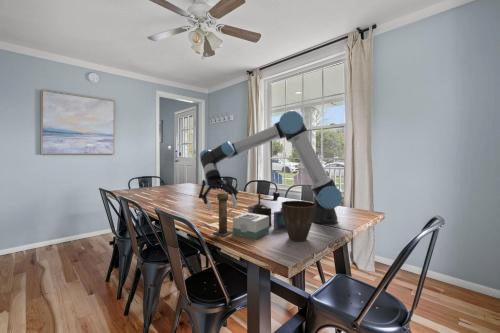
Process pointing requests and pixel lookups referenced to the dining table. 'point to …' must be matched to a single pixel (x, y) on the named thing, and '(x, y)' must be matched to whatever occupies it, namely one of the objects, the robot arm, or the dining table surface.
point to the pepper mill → (263, 207)
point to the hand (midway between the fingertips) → (223, 207)
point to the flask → (279, 220)
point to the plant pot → (298, 218)
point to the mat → (223, 233)
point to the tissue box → (251, 225)
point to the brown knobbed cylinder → (222, 212)
